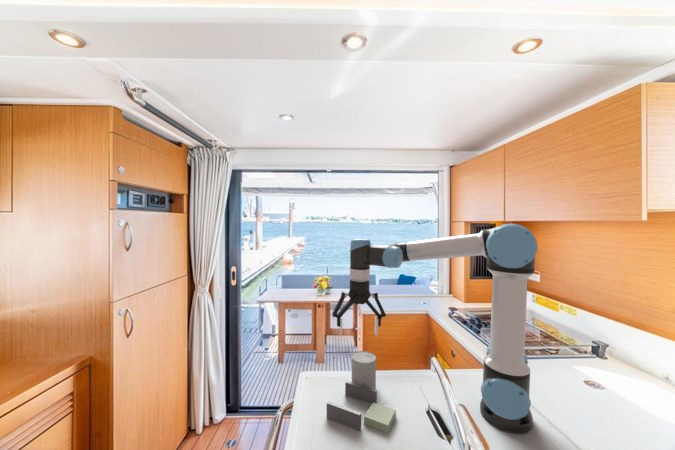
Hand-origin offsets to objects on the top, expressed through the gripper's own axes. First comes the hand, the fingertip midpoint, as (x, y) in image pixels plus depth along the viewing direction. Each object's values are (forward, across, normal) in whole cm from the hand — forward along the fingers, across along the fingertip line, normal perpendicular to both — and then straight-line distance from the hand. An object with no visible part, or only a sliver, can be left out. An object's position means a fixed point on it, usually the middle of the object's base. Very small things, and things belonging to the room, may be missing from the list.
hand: (358, 334), depth 108 cm
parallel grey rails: (+22, +3, +11) cm, 25 cm away
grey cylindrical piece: (+22, -2, -2) cm, 22 cm away
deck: (+22, -5, +17) cm, 28 cm away
